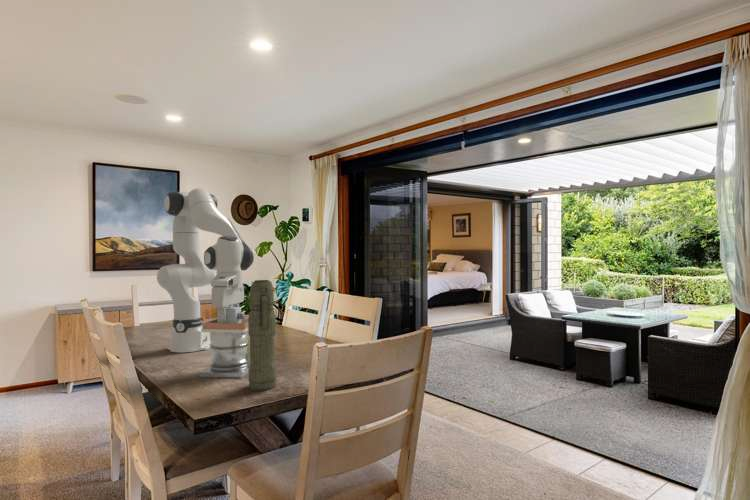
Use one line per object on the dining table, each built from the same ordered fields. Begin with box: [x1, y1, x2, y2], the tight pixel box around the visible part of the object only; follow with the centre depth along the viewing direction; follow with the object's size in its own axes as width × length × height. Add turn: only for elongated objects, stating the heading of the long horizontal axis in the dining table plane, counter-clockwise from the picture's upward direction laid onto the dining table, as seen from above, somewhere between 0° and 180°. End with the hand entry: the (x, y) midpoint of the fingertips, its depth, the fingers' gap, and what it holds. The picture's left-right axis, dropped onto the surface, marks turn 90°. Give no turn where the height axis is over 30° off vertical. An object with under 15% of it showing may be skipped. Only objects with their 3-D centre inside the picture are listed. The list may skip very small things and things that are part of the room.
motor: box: [198, 318, 250, 379], centre depth 166 cm, size 16×16×19 cm
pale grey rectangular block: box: [216, 306, 246, 323], centre depth 166 cm, size 5×9×7 cm, turn 84°
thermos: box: [248, 279, 277, 392], centre depth 147 cm, size 9×12×35 cm
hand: (229, 316), depth 166 cm, fingers open, 8 cm apart
